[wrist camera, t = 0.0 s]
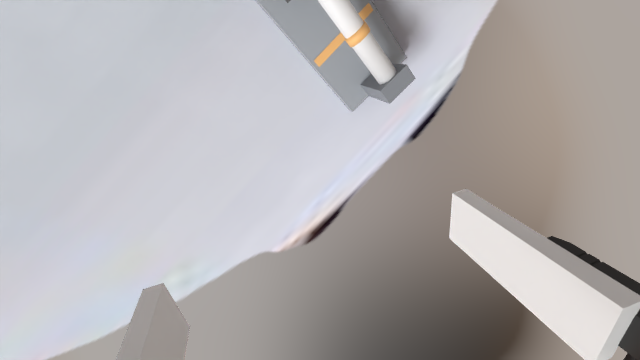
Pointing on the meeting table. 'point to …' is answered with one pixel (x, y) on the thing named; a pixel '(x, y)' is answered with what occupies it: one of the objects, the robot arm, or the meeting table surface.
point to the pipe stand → (344, 46)
